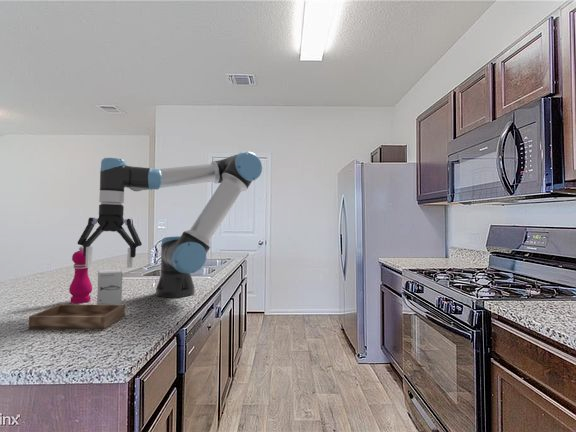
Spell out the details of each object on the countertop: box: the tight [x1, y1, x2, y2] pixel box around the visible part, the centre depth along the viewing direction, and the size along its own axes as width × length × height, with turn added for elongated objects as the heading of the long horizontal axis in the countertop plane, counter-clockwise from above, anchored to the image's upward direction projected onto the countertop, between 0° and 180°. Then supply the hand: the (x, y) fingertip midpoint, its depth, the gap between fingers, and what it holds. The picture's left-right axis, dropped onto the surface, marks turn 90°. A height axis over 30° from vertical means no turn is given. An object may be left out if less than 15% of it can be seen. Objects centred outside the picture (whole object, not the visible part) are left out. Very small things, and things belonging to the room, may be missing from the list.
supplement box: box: [96, 269, 123, 305], centre depth 122 cm, size 7×7×13 cm
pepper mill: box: [68, 245, 93, 304], centre depth 131 cm, size 7×7×20 cm
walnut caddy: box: [28, 303, 126, 331], centre depth 105 cm, size 20×14×4 cm
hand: (109, 266), depth 122 cm, fingers open, 13 cm apart
